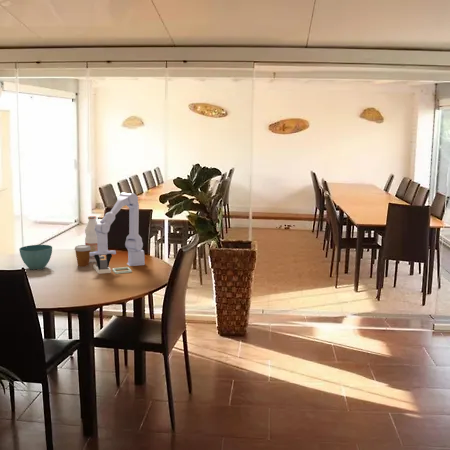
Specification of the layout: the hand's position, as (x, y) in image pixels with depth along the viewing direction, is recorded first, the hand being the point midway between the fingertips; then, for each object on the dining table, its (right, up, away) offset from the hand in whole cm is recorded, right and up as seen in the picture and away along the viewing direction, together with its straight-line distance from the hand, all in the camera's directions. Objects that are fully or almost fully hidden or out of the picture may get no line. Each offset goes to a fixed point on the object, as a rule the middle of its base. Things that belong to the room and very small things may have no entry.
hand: (103, 267), depth 321 cm
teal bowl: (-41, -1, +10) cm, 42 cm away
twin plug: (-3, -1, +8) cm, 8 cm away
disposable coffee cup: (-15, -1, +16) cm, 22 cm away
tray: (+10, -3, +2) cm, 11 cm away
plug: (0, -2, 0) cm, 2 cm away
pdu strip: (-2, -2, +4) cm, 5 cm away
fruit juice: (-12, +1, +29) cm, 31 cm away
